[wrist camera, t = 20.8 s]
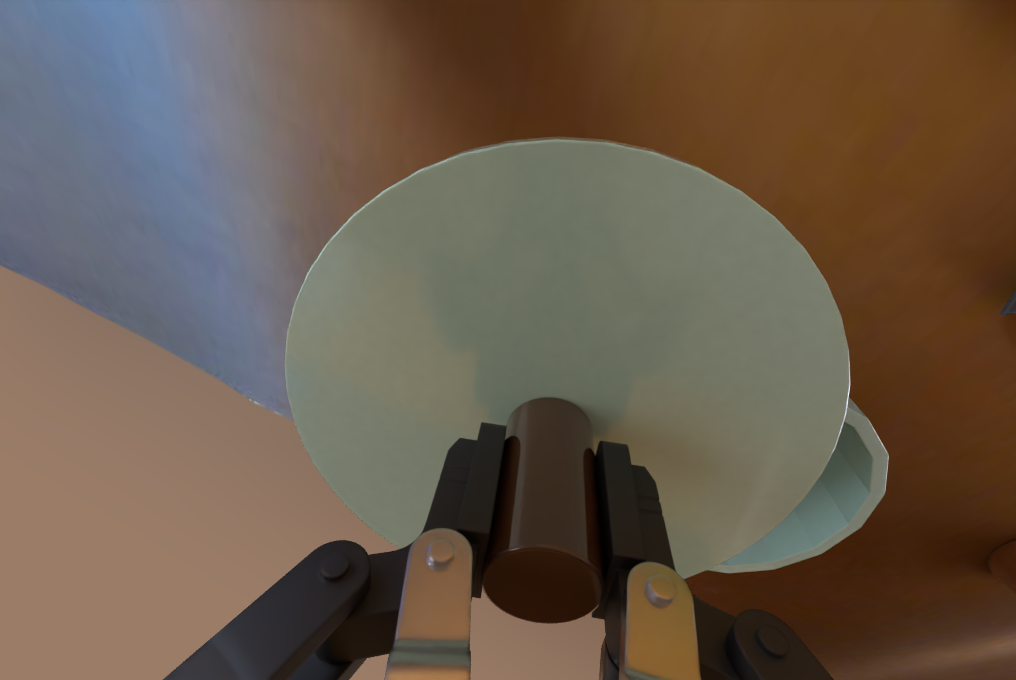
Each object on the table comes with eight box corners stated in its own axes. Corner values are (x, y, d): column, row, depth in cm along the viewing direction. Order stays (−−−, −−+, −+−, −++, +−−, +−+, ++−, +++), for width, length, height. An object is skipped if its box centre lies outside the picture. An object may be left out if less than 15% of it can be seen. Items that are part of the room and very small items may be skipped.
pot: (587, 436, 43) (594, 552, 33) (625, 281, 36) (650, 368, 25) (756, 462, 43) (817, 588, 32) (831, 310, 35) (944, 411, 25)
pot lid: (325, 533, 20) (234, 706, 14) (269, 92, 12) (11, 109, 6) (720, 598, 19) (781, 805, 14) (953, 181, 11) (1327, 287, 6)
